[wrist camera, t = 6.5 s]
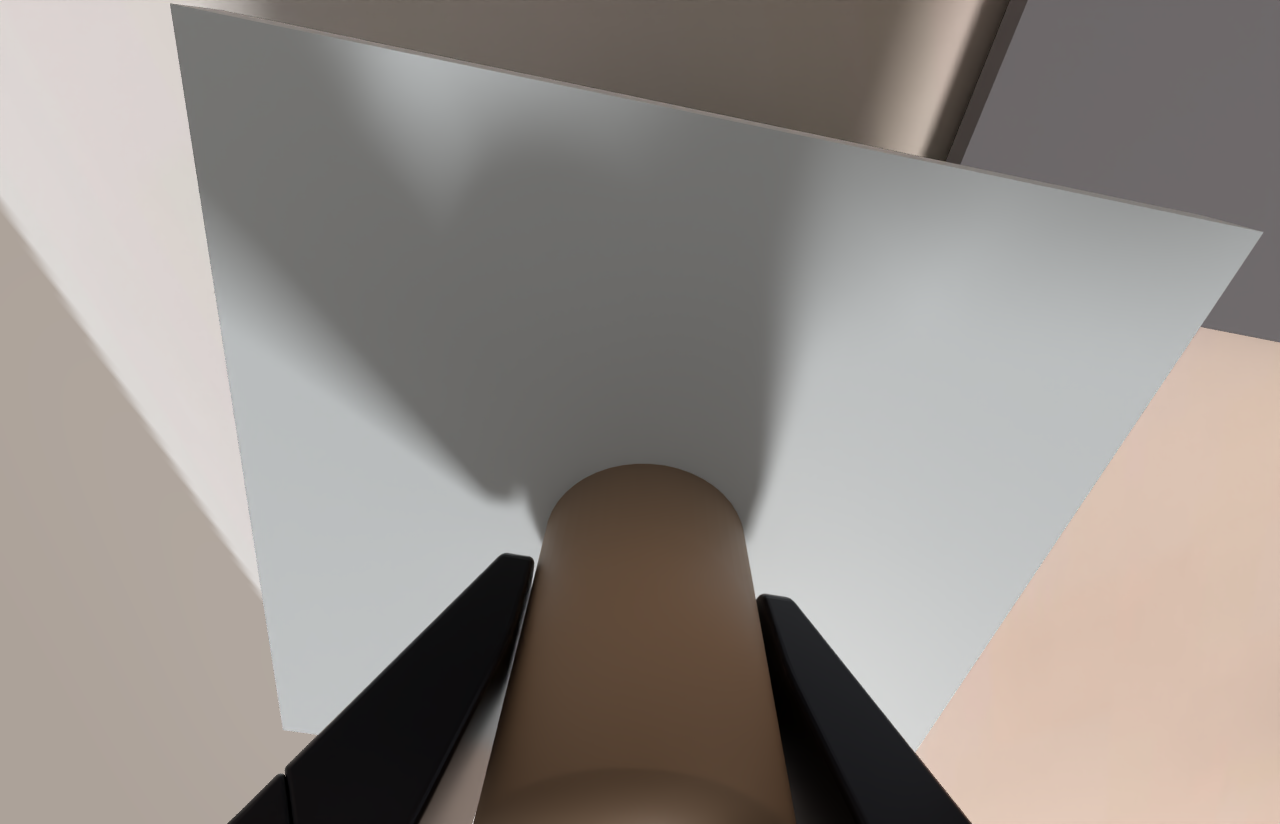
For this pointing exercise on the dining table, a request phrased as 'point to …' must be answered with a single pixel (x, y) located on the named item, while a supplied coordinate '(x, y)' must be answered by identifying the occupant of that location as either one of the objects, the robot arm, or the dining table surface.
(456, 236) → the lid
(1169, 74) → the mat
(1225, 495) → the dining table surface
